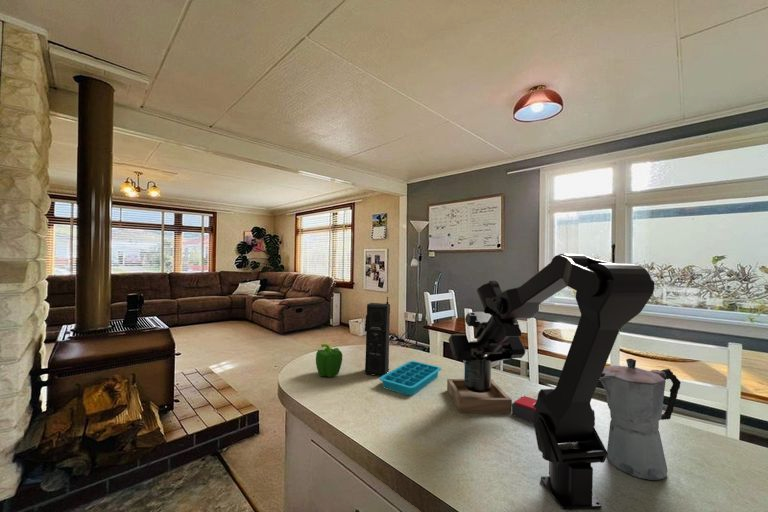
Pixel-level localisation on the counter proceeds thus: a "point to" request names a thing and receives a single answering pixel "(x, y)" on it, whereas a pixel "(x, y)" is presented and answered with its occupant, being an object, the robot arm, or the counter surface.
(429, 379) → the ice cube tray
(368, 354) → the portable radio
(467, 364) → the supplement bottle
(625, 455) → the moka pot
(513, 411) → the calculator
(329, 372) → the bell pepper
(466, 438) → the counter surface
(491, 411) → the holder
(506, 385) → the counter surface
